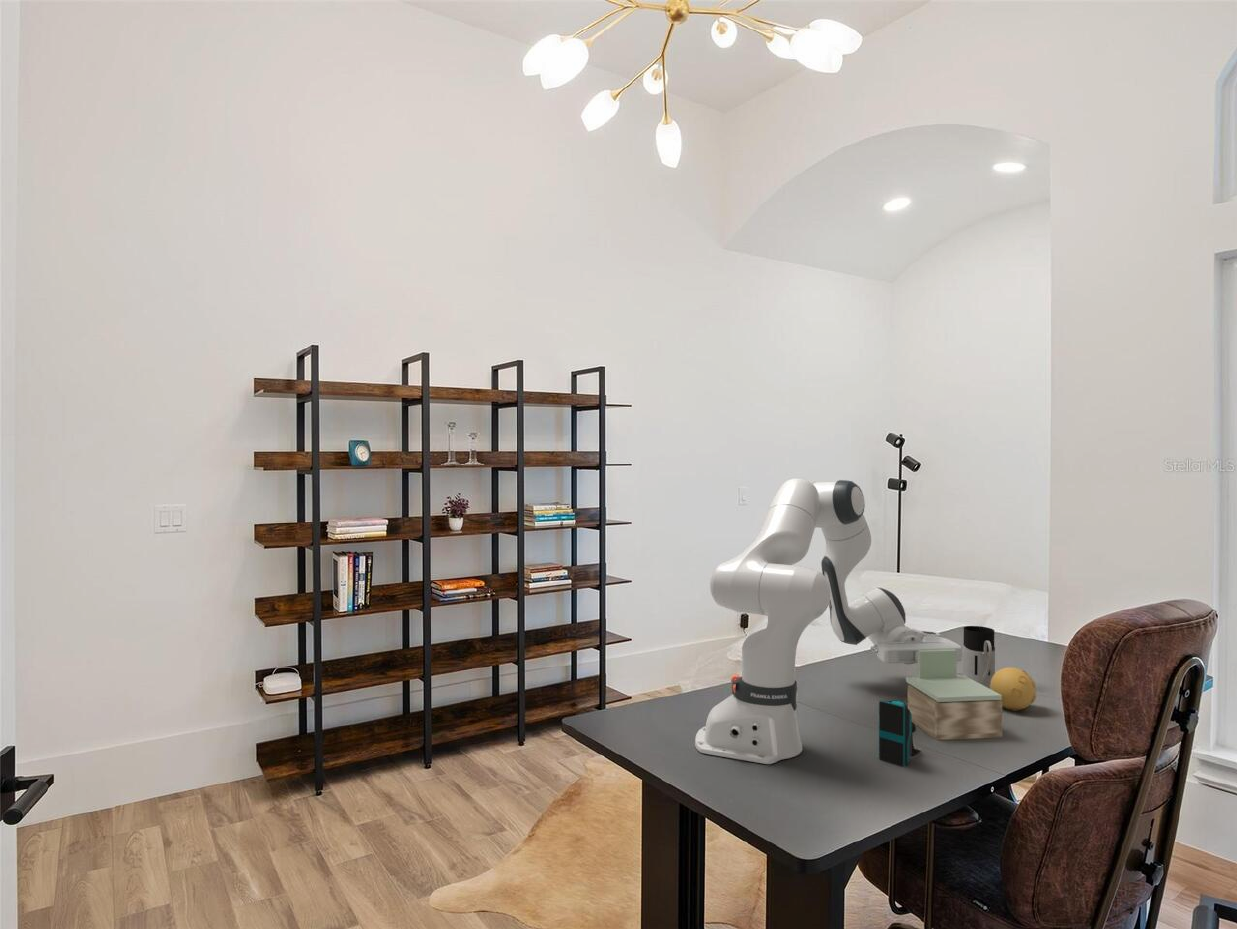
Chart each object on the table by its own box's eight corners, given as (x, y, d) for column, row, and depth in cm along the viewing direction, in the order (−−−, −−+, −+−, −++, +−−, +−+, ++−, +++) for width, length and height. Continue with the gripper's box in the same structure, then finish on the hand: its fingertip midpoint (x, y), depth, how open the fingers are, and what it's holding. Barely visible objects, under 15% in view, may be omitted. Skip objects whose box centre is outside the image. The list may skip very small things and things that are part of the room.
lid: (938, 702, 159) (938, 668, 159) (906, 681, 173) (906, 650, 173) (1001, 699, 161) (1001, 666, 161) (964, 679, 175) (964, 648, 175)
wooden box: (936, 739, 159) (937, 703, 159) (907, 718, 172) (907, 684, 172) (1001, 737, 161) (1002, 701, 161) (967, 716, 174) (968, 682, 174)
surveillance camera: (925, 695, 152) (904, 707, 145) (925, 753, 153) (904, 767, 146) (899, 689, 156) (877, 700, 149) (898, 745, 157) (877, 759, 150)
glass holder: (990, 680, 201) (991, 626, 201) (1008, 697, 187) (1009, 639, 187) (956, 678, 203) (957, 624, 202) (972, 695, 189) (972, 637, 188)
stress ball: (985, 710, 180) (1000, 694, 173) (983, 673, 186) (997, 656, 179) (1028, 719, 179) (1045, 704, 171) (1025, 681, 185) (1041, 665, 177)
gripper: (867, 634, 187) (893, 649, 173) (944, 632, 189) (975, 647, 175) (867, 659, 187) (893, 675, 173) (943, 656, 189) (975, 673, 175)
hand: (935, 661), depth 174 cm, fingers closed
